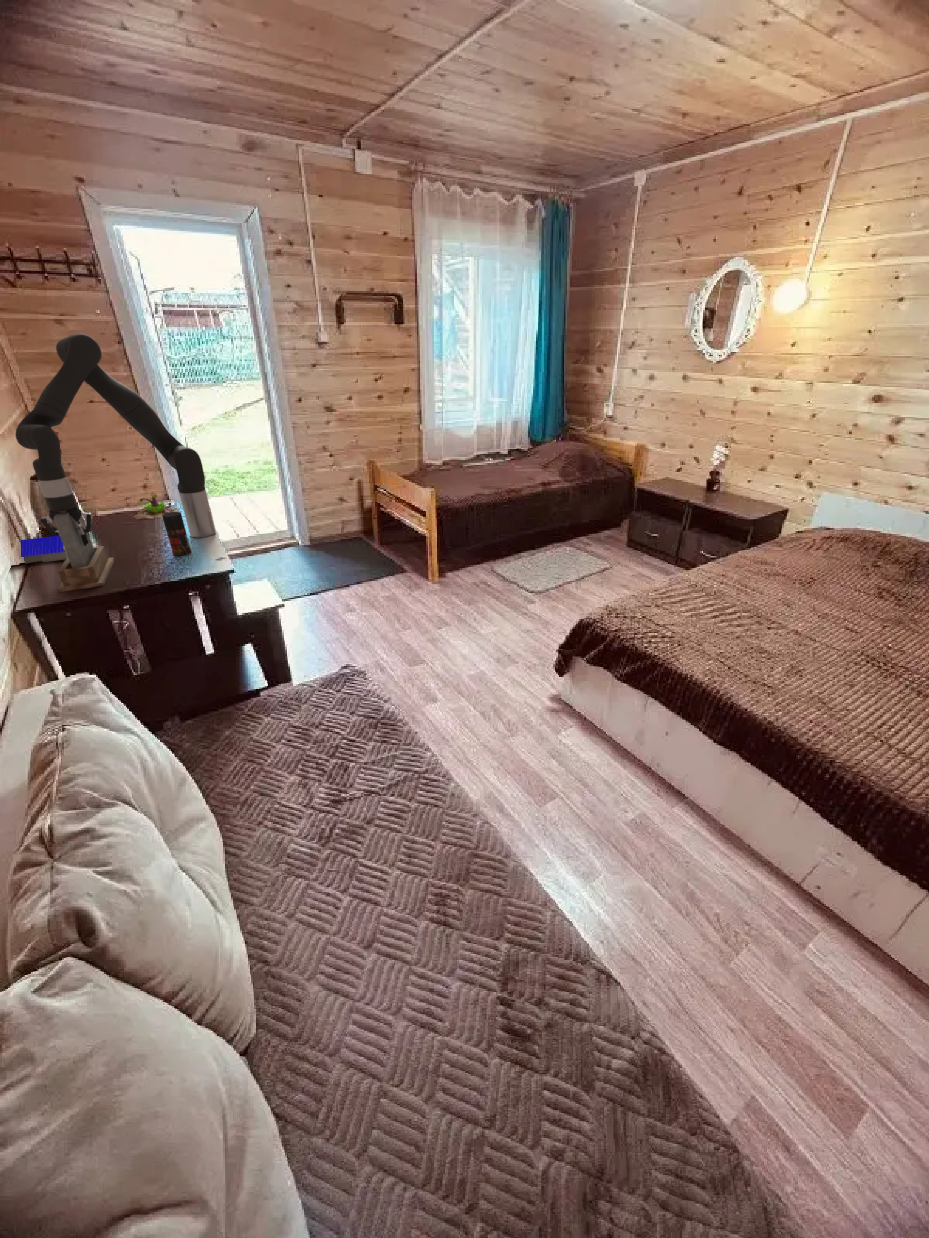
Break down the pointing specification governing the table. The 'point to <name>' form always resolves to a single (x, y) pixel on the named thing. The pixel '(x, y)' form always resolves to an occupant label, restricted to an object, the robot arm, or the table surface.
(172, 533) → the deodorant
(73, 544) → the hip flask
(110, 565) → the walnut open box
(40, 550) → the blue slatted box
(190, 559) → the table surface
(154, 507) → the plant
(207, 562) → the table surface
